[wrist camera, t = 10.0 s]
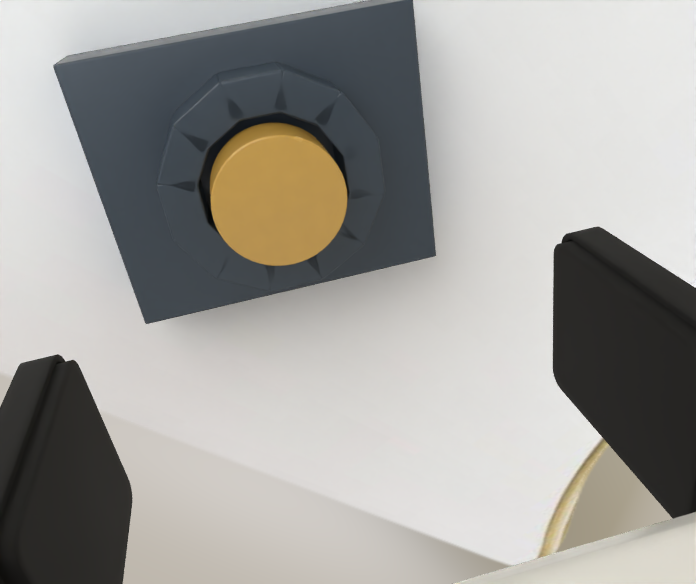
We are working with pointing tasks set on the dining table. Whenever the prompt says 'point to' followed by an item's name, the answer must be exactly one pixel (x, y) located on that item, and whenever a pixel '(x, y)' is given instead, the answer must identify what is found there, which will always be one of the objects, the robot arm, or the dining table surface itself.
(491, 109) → the dining table surface
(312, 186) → the bell button
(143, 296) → the grey button base
